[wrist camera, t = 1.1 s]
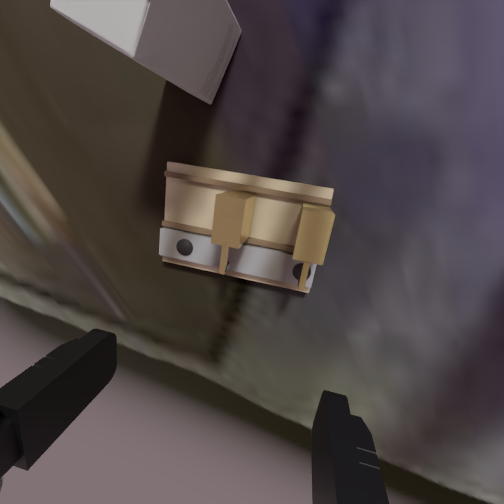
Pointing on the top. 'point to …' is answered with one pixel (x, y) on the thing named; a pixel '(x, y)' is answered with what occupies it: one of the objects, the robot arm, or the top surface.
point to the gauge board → (262, 231)
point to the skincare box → (164, 36)
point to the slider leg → (232, 222)
